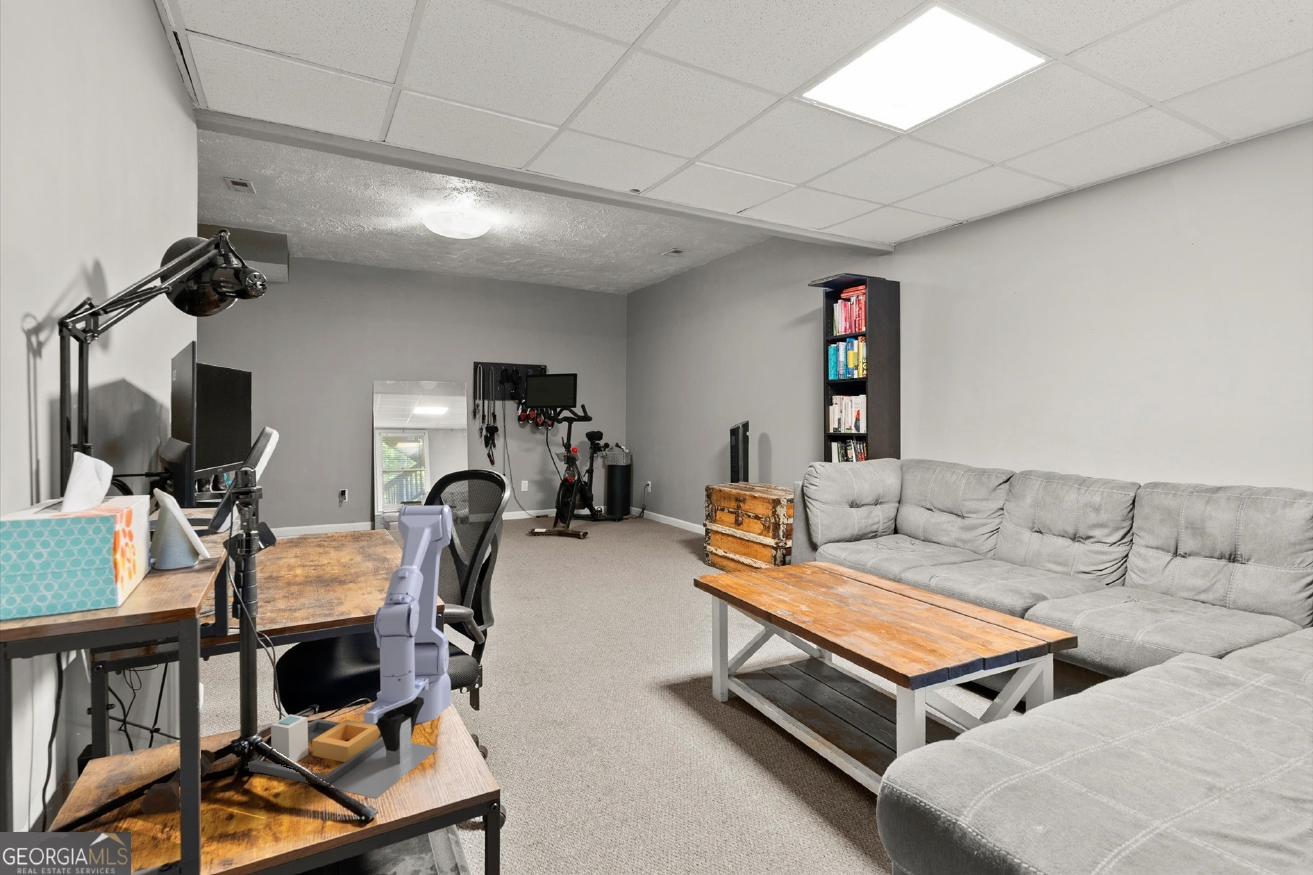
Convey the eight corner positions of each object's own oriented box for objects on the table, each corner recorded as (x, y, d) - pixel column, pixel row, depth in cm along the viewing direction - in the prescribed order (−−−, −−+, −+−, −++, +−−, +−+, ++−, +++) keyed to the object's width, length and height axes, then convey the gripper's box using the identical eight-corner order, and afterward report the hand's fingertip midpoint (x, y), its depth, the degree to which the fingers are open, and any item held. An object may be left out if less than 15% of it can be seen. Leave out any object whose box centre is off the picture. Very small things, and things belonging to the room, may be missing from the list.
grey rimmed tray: (317, 730, 126) (317, 711, 126) (393, 745, 121) (392, 724, 120) (243, 775, 111) (243, 752, 111) (326, 793, 105) (325, 770, 105)
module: (291, 751, 116) (290, 713, 116) (308, 755, 115) (307, 716, 115) (271, 763, 113) (270, 723, 112) (289, 767, 111) (288, 726, 111)
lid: (391, 745, 121) (391, 738, 121) (438, 754, 118) (438, 747, 118) (324, 793, 105) (324, 786, 105) (376, 805, 102) (376, 798, 102)
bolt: (211, 776, 114) (165, 827, 99) (183, 765, 113) (133, 815, 98) (228, 746, 114) (186, 793, 99) (201, 735, 113) (154, 780, 98)
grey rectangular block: (397, 752, 116) (397, 714, 116) (411, 754, 115) (411, 717, 115) (386, 760, 113) (385, 722, 113) (400, 763, 112) (399, 724, 112)
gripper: (406, 652, 122) (407, 722, 122) (348, 684, 108) (350, 762, 108) (437, 657, 119) (438, 727, 120) (383, 689, 106) (384, 769, 106)
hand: (398, 744), depth 114 cm, fingers closed on grey rectangular block, 3 cm apart
